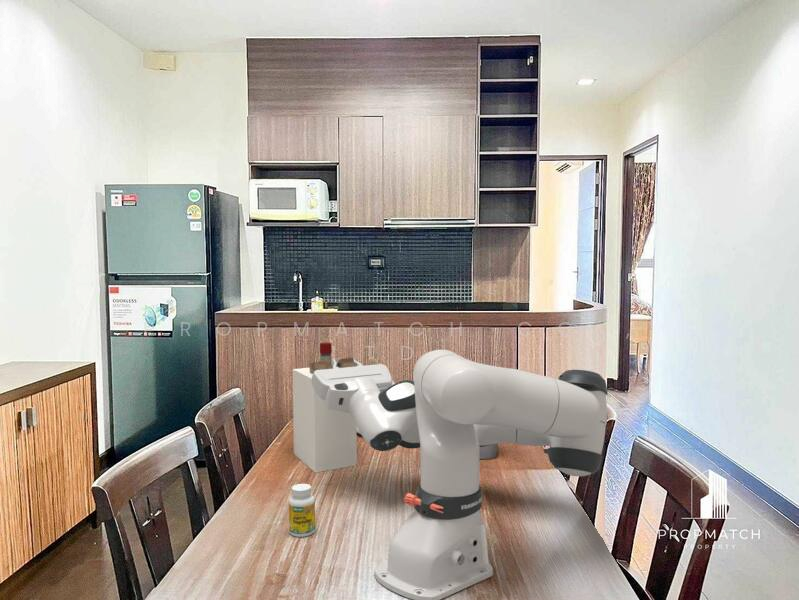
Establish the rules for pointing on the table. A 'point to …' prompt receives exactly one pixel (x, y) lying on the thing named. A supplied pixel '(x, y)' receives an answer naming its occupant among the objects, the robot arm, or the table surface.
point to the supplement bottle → (301, 511)
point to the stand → (320, 428)
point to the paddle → (327, 364)
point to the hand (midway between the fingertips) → (342, 360)
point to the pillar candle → (489, 451)
